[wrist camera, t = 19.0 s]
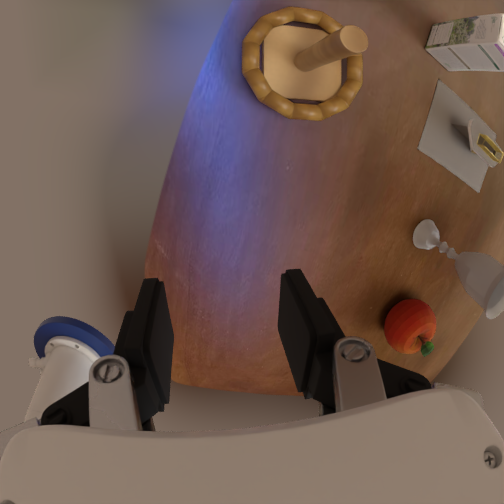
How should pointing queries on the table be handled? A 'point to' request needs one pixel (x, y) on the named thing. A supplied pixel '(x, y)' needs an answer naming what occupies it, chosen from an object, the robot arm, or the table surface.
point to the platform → (459, 138)
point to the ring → (278, 101)
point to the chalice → (469, 269)
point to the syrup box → (469, 43)
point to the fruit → (410, 327)
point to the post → (308, 60)
